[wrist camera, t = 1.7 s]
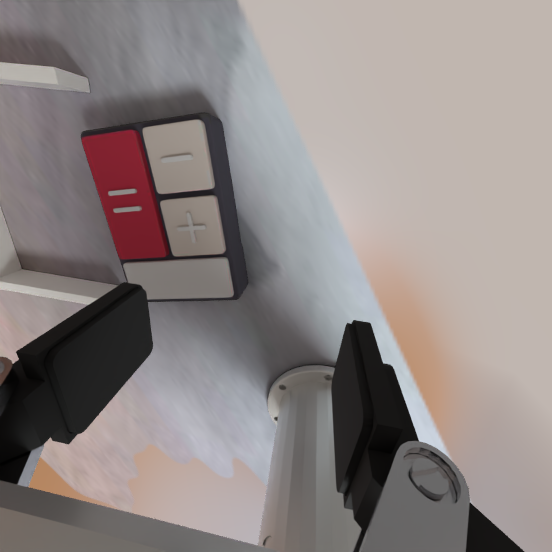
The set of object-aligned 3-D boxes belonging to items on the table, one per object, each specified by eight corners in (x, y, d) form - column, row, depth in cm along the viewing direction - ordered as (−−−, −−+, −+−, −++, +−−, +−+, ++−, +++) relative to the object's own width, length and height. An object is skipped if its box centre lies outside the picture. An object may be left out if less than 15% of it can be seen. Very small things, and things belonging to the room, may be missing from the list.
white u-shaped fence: (123, 293, 30) (104, 307, 27) (16, 275, 31) (-12, 287, 28) (87, 78, 21) (54, 66, 19) (-58, 64, 23) (-110, 52, 20)
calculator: (204, 108, 18) (237, 304, 23) (225, 119, 22) (249, 285, 27) (69, 130, 20) (127, 306, 25) (110, 136, 24) (153, 288, 29)
